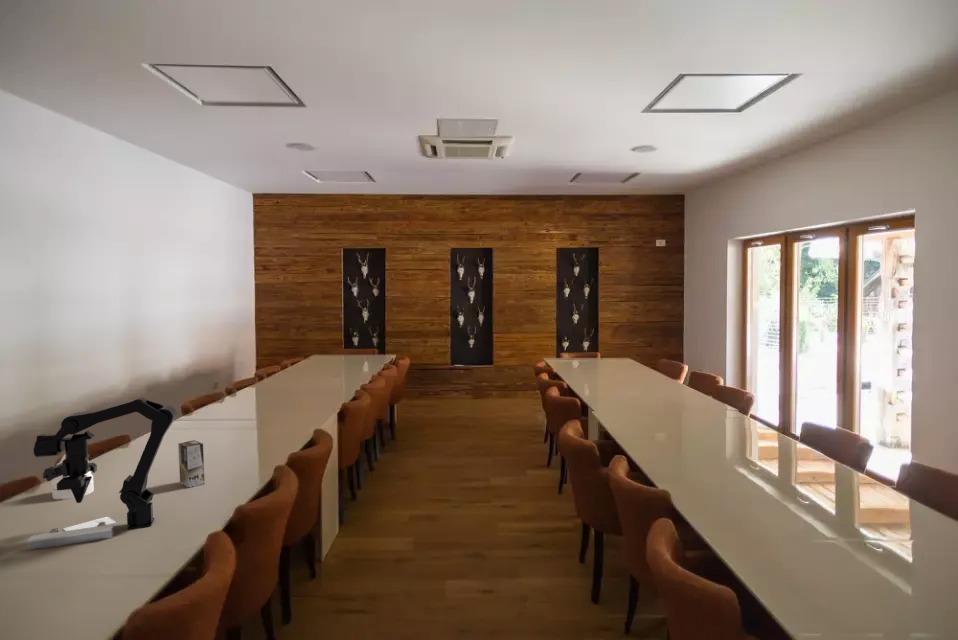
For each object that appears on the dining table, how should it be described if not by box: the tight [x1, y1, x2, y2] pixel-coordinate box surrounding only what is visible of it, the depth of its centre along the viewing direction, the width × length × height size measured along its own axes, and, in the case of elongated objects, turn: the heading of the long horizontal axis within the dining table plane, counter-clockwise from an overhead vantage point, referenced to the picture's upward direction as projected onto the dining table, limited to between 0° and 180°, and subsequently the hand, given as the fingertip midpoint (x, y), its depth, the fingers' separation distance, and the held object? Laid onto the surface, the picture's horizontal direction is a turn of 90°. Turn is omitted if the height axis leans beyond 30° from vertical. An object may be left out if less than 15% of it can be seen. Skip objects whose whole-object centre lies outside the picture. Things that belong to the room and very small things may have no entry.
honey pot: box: [51, 454, 95, 500], centre depth 214 cm, size 13×13×18 cm
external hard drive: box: [62, 516, 117, 531], centre depth 181 cm, size 2×8×12 cm
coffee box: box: [177, 439, 205, 488], centre depth 223 cm, size 9×6×16 cm
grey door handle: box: [27, 522, 115, 551], centre depth 174 cm, size 21×9×3 cm, turn 111°
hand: (79, 502), depth 178 cm, fingers closed
